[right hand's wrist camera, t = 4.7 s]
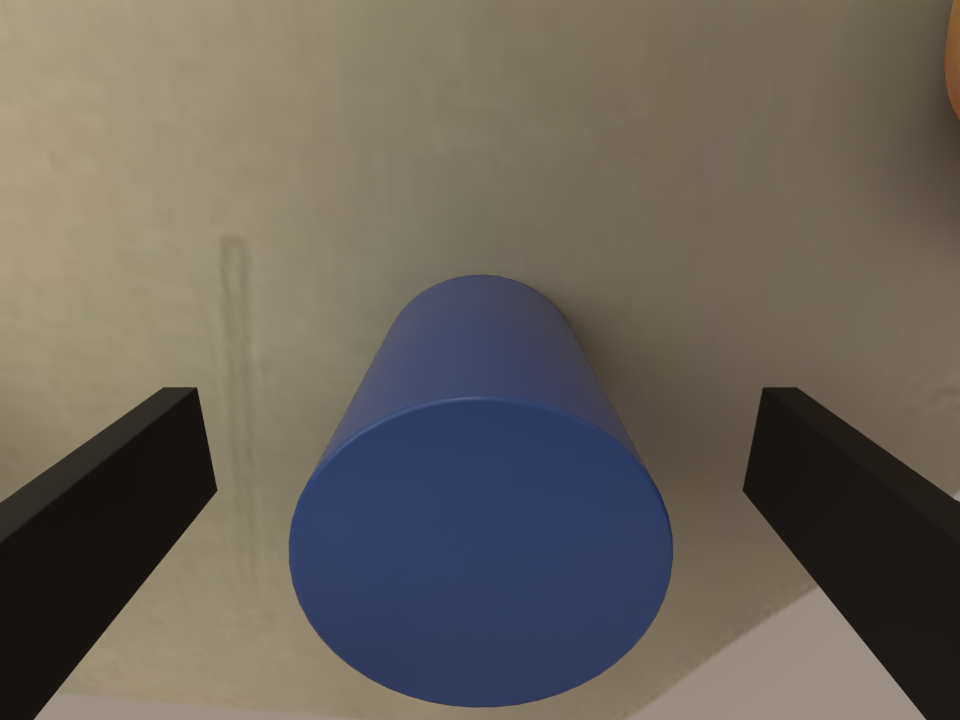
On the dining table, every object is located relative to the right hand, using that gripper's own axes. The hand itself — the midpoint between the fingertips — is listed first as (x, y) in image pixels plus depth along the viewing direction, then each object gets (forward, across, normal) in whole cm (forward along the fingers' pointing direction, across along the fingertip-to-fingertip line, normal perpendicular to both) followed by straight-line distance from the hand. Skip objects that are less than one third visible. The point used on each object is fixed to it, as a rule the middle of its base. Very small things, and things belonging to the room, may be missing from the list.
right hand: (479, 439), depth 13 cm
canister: (+4, 0, 0) cm, 4 cm away
